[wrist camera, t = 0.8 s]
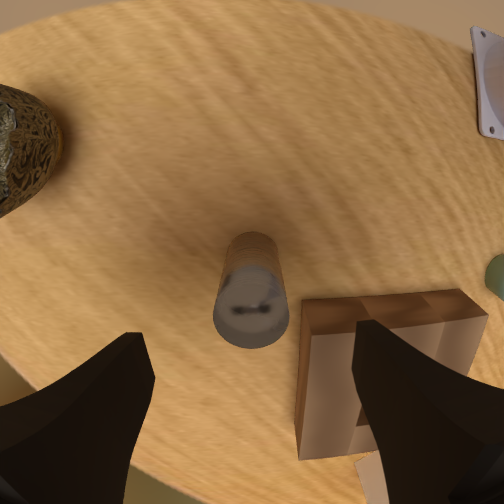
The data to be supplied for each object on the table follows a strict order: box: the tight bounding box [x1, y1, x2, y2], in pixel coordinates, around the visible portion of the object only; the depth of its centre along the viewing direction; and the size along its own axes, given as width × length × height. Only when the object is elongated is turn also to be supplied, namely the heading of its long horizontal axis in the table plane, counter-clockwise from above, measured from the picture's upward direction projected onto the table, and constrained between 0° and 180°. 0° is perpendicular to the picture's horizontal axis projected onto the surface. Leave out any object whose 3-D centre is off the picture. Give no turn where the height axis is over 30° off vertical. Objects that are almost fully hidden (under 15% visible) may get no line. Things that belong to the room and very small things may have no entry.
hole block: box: [294, 289, 489, 460], centre depth 20 cm, size 12×12×4 cm
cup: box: [0, 84, 64, 218], centre depth 13 cm, size 8×7×8 cm
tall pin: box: [213, 232, 289, 349], centre depth 16 cm, size 3×3×7 cm
